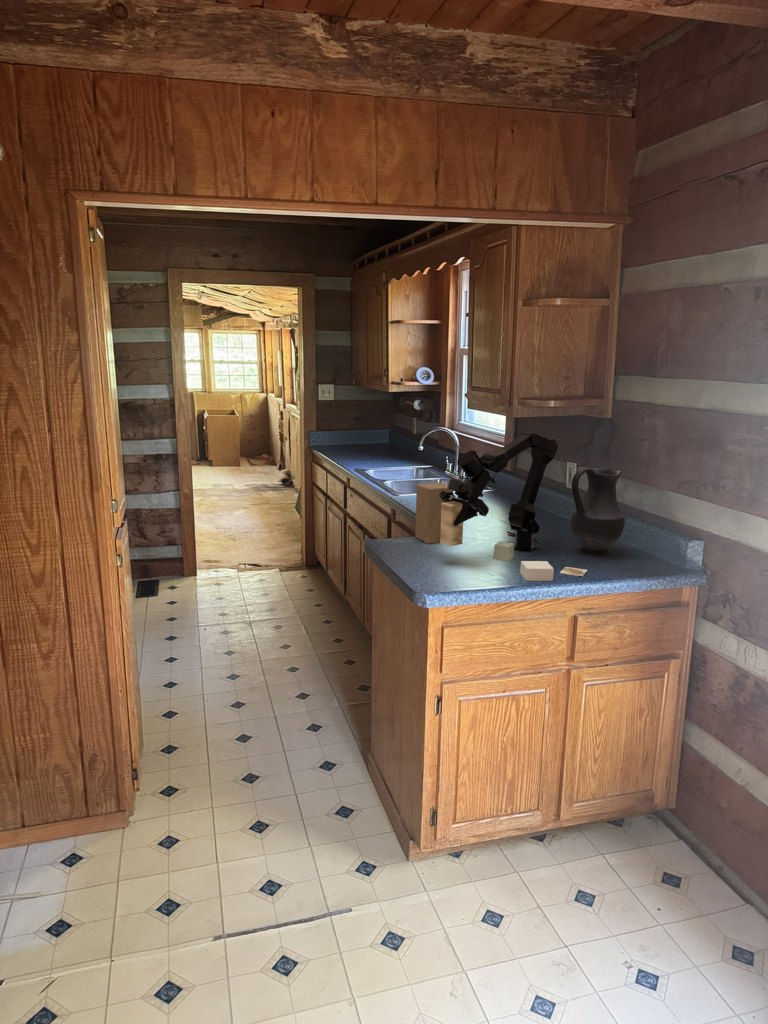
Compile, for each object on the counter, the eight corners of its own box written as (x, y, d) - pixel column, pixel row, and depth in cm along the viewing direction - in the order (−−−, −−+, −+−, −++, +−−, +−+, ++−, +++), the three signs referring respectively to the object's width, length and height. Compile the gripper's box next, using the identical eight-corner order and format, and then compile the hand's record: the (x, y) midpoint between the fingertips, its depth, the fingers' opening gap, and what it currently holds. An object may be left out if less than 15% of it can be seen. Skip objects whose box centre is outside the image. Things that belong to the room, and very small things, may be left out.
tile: (565, 567, 226) (565, 566, 226) (587, 571, 223) (587, 569, 223) (559, 573, 220) (559, 571, 220) (582, 577, 217) (582, 575, 217)
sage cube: (498, 556, 239) (499, 541, 238) (513, 558, 237) (513, 543, 236) (493, 559, 235) (494, 544, 234) (508, 561, 233) (509, 546, 232)
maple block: (452, 540, 232) (453, 501, 229) (462, 544, 228) (463, 504, 225) (440, 542, 229) (441, 503, 226) (450, 546, 225) (451, 506, 222)
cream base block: (520, 573, 221) (520, 561, 220) (545, 573, 221) (546, 561, 220) (526, 581, 213) (527, 568, 212) (552, 581, 213) (553, 568, 213)
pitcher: (632, 556, 241) (640, 467, 235) (587, 564, 231) (594, 472, 225) (594, 544, 256) (600, 461, 249) (550, 551, 246) (555, 464, 239)
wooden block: (414, 537, 261) (416, 483, 257) (439, 535, 265) (440, 482, 261) (427, 544, 253) (428, 488, 248) (452, 541, 256) (454, 486, 252)
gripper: (444, 465, 233) (416, 502, 229) (483, 473, 218) (455, 513, 214) (461, 487, 239) (434, 523, 235) (501, 496, 224) (473, 535, 220)
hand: (448, 523), depth 226 cm, fingers closed on maple block, 5 cm apart
